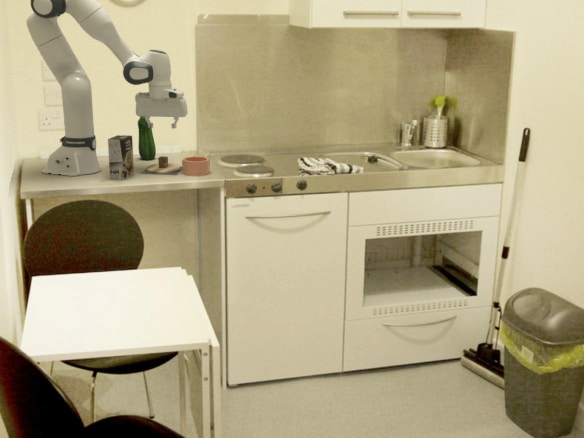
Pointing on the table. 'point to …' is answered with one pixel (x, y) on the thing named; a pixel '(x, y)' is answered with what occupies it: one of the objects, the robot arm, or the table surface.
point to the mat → (161, 174)
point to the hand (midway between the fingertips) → (162, 127)
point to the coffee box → (121, 157)
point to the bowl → (196, 166)
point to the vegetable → (146, 140)
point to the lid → (163, 167)
